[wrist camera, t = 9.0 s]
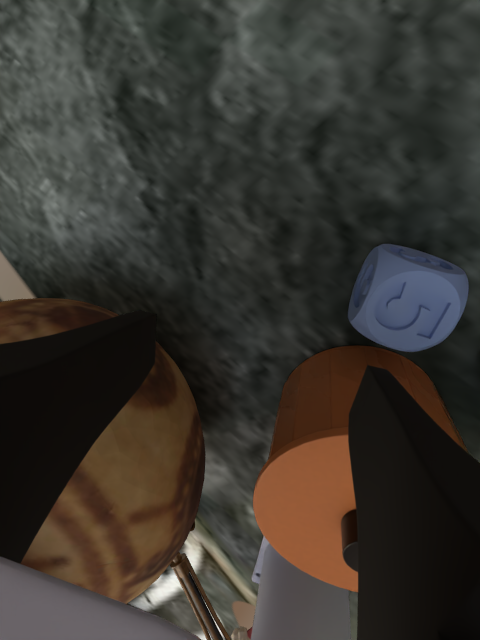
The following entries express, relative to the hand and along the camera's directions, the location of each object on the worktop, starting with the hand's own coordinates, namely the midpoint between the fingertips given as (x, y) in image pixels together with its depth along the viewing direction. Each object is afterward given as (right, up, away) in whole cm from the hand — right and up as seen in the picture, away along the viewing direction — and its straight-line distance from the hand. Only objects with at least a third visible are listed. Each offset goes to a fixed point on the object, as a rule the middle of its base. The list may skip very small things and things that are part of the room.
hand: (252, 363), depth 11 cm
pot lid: (+6, -8, +4) cm, 11 cm away
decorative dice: (+8, +4, +7) cm, 11 cm away
